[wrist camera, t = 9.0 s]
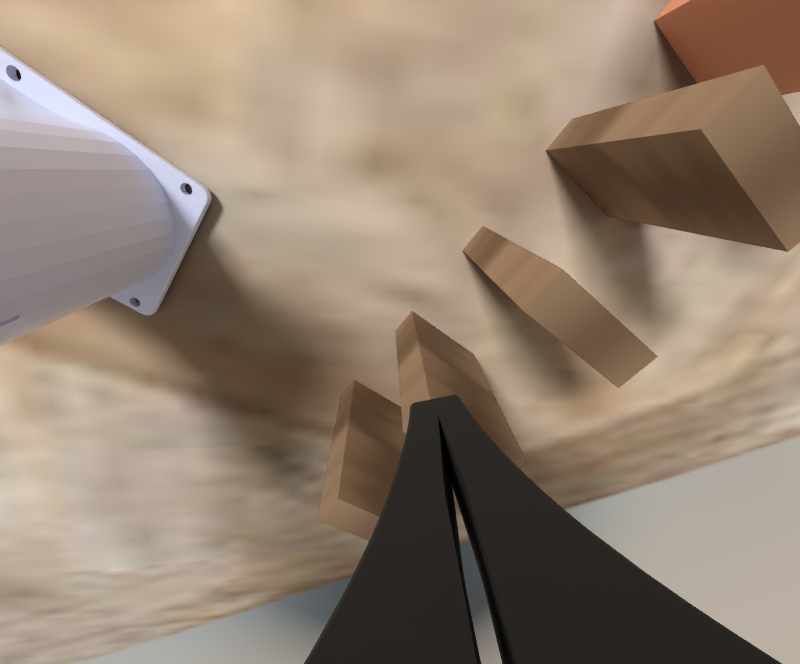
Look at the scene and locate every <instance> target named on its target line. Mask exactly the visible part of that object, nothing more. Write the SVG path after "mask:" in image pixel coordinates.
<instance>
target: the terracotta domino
mask: <svg viewBox="0 0 800 664" xmlns="http://www.w3.org/2000/svg"><path fill="white" fill-rule="evenodd" d="M654 22H655V23H656V24H657V26H658V27H659V29H660V30H661V32H662V33H663V35H664V36H665V38H666V39H667V41H668V42H669V43H670V45H671V46H672V48H673V49H674V51H675V52H676V54H677V55H678V57H679V58H680V60H681V61H682V62H683V64H684V65H685V67H686V68H687V70H688V71H689V73H690V74H691V76H692V77H693V79H694V80H695V81H696V83H701V82H704V81H708V80H711V79H715V78H718V77H722V76H725V75H729V74H733V73H736V72H740V71H743V70H747V69H750V68H754V67H757V66H761V65H764V66H765V68H766V70H767V71H768V73H769V75H770V77H771V78H772V80H773V82H774V83H775V85H776V87H777V88H778V90H779V92H780V94H781V95H784V94H789V93H794V92H799V91H800V0H671V1H670V2H669V3H668V4H667V6H666V7H665V8H664V9H663V10H662V12H661V13H660V14H659V15H658V16H657V18H656V19H655V20H654Z"/></svg>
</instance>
